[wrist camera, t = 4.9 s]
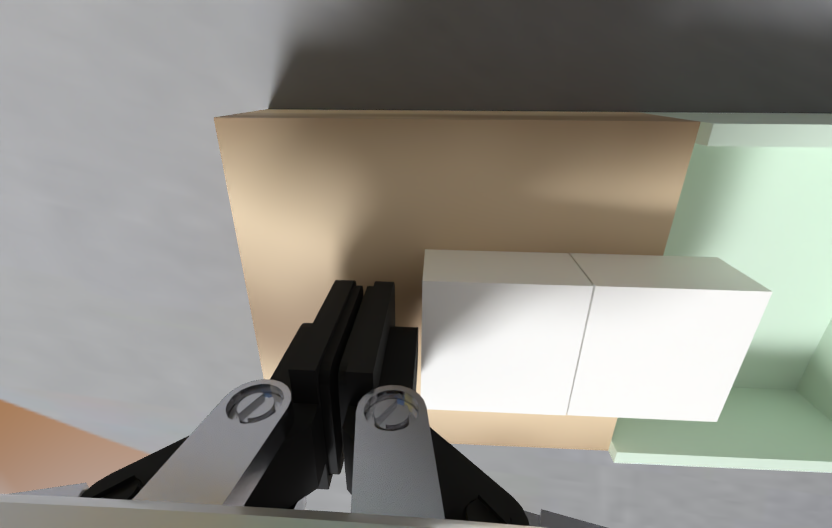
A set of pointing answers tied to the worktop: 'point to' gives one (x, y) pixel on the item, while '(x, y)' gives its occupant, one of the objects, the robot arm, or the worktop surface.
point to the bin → (774, 269)
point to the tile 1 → (501, 330)
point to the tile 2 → (663, 336)
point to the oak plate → (440, 214)
